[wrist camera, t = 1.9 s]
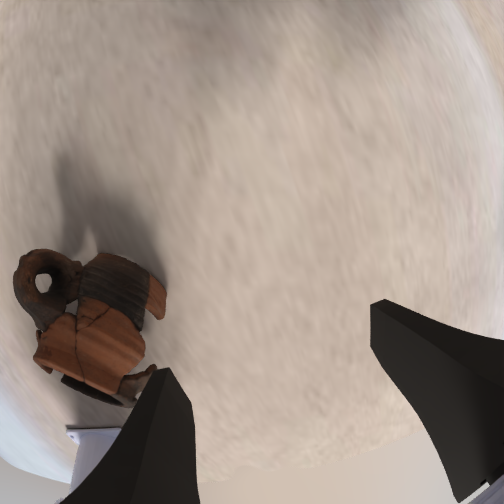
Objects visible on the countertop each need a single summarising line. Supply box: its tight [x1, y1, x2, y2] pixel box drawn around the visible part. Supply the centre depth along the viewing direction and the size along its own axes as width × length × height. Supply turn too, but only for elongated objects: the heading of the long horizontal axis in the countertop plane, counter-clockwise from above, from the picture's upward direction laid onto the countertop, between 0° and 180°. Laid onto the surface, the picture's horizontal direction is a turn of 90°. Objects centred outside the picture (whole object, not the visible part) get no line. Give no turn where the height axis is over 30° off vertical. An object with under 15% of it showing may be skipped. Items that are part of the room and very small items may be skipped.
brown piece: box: [13, 249, 167, 408], centre depth 16 cm, size 12×10×8 cm
